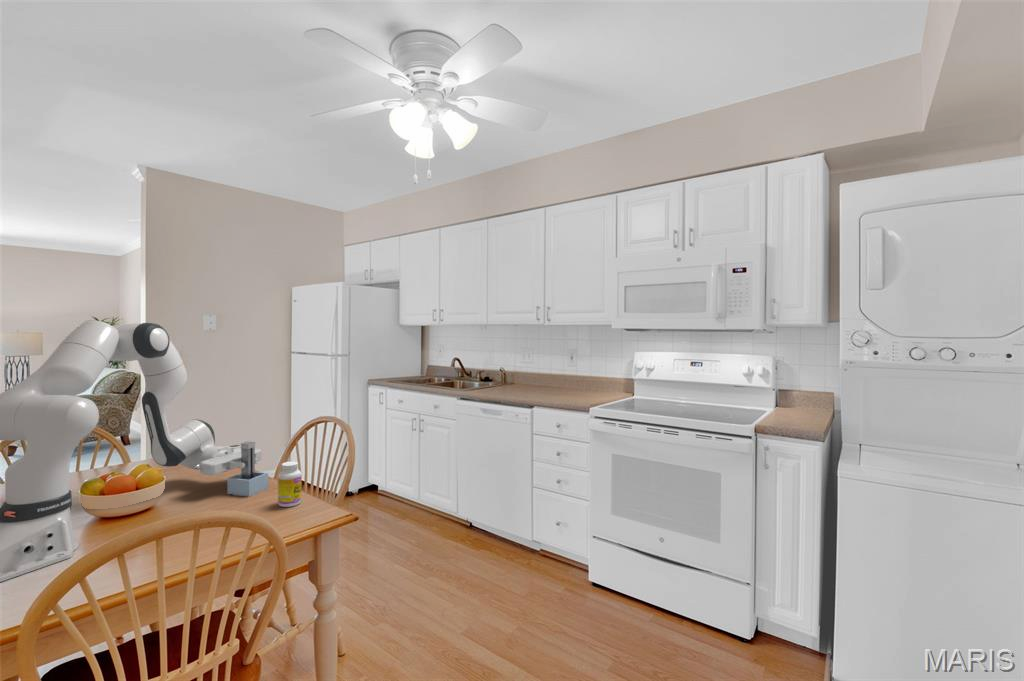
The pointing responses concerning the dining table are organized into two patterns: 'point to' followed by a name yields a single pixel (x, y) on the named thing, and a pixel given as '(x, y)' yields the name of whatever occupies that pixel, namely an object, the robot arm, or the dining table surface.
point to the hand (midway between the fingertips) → (250, 463)
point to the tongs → (248, 460)
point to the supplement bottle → (289, 485)
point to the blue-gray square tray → (247, 484)
